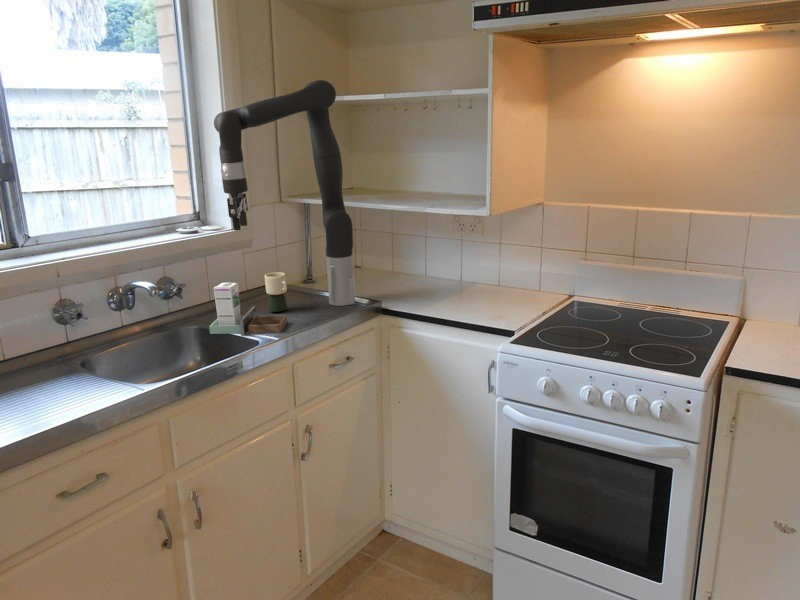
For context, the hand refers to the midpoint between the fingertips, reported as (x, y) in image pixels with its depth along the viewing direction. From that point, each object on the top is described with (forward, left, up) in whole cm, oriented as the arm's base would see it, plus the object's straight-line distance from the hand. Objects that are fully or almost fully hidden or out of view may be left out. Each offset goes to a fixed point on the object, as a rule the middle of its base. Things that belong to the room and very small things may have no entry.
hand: (240, 227), depth 203 cm
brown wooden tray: (-9, +13, -30) cm, 34 cm away
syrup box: (+3, +13, -30) cm, 33 cm away
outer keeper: (+3, +13, -30) cm, 33 cm away
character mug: (-8, -6, -30) cm, 32 cm away
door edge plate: (-3, +13, -30) cm, 33 cm away
